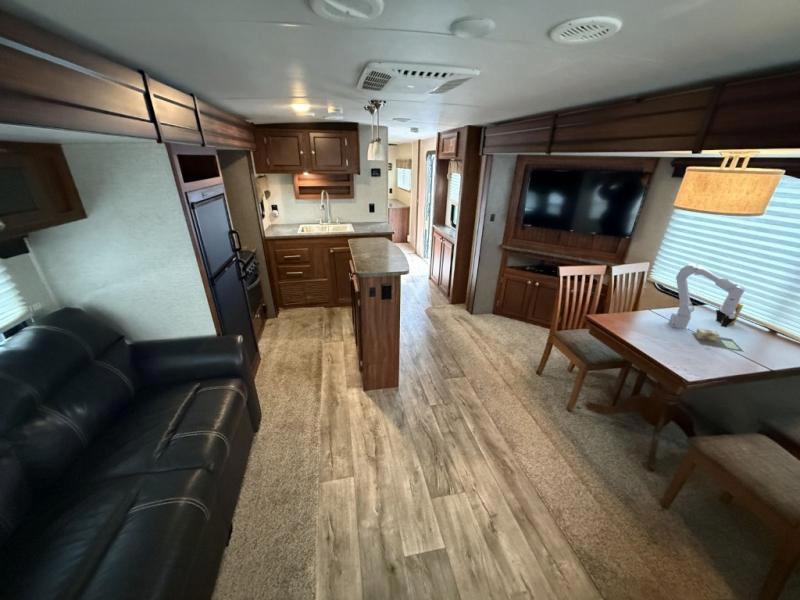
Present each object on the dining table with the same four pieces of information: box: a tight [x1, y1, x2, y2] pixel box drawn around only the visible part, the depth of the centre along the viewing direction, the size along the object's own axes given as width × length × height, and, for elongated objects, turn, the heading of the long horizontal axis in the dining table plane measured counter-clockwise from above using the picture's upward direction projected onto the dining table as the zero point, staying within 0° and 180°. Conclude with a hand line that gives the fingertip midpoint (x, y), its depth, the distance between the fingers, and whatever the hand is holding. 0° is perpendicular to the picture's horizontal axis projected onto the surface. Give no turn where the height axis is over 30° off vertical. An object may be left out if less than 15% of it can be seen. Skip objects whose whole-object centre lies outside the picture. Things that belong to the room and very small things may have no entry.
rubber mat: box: [691, 332, 745, 353], centre depth 191 cm, size 20×16×1 cm
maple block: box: [695, 328, 720, 341], centre depth 195 cm, size 9×5×4 cm, turn 64°
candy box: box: [720, 300, 744, 326], centre depth 211 cm, size 9×4×15 cm, turn 49°
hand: (721, 323), depth 193 cm, fingers open, 7 cm apart
